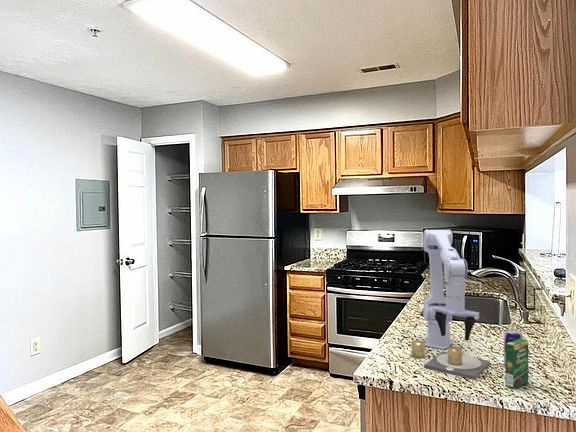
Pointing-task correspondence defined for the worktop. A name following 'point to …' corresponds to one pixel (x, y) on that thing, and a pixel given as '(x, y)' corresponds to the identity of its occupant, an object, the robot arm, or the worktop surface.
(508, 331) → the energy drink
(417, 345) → the tan rounded cylinder
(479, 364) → the kitchen scale
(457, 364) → the golden domed cylinder
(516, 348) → the green carton
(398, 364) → the worktop surface
